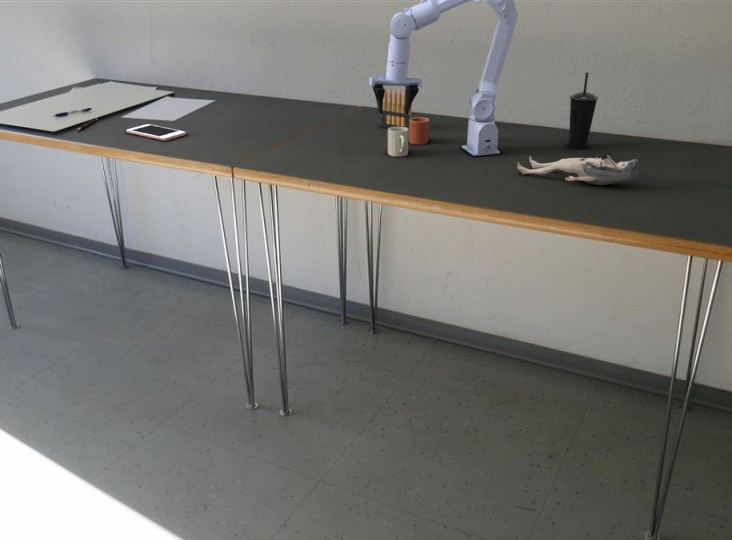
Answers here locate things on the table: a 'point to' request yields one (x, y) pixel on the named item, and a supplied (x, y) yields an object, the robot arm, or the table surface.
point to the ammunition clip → (395, 110)
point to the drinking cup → (581, 117)
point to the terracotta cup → (418, 130)
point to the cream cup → (398, 141)
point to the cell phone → (156, 132)
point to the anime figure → (589, 169)
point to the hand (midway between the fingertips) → (393, 112)
